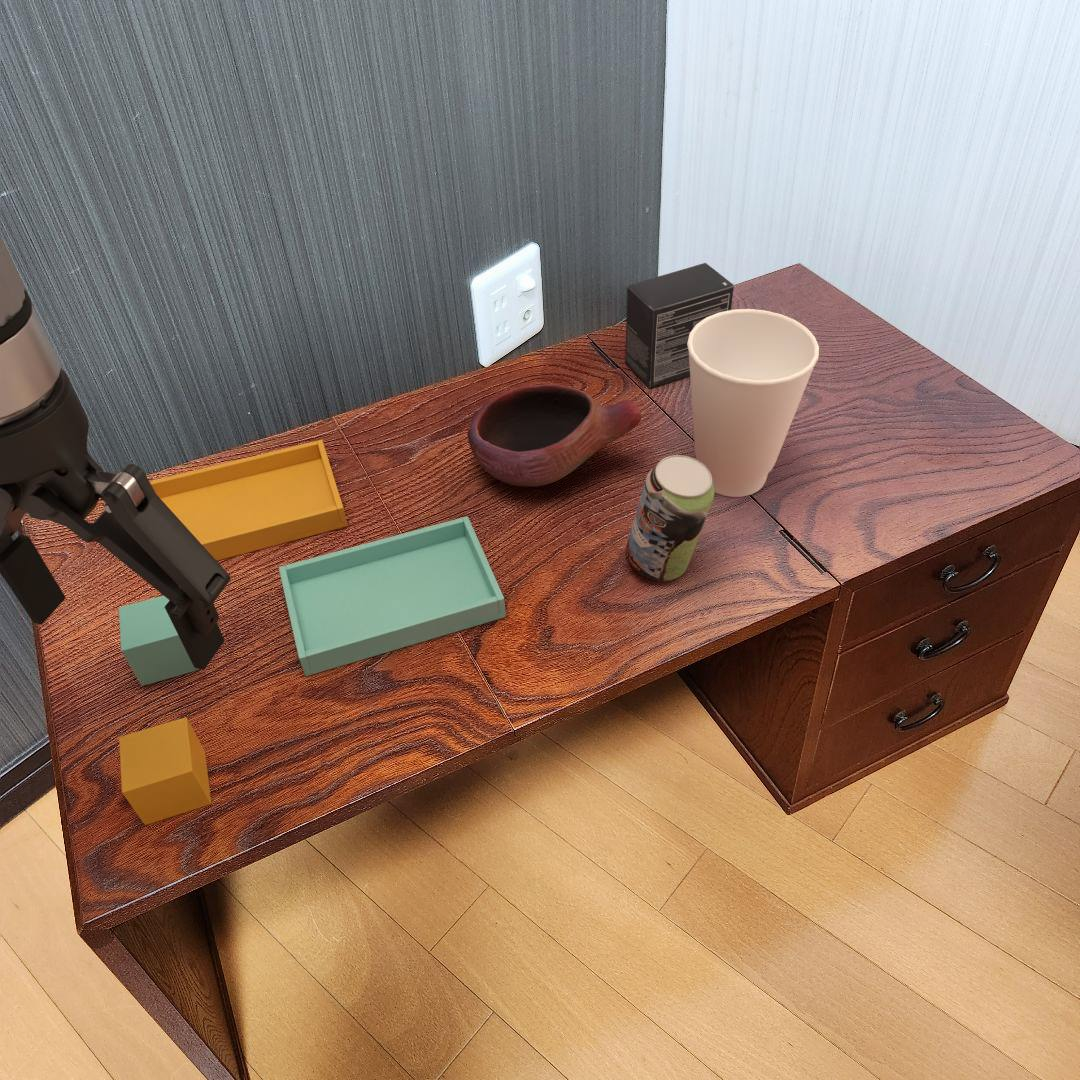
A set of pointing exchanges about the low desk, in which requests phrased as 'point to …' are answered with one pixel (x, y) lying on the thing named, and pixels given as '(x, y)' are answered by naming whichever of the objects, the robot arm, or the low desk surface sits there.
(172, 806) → the ochre block
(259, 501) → the ochre tray
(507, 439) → the bowl
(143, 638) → the teal block
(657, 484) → the beverage can
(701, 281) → the small box
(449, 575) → the teal tray
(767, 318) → the cup
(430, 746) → the low desk surface
